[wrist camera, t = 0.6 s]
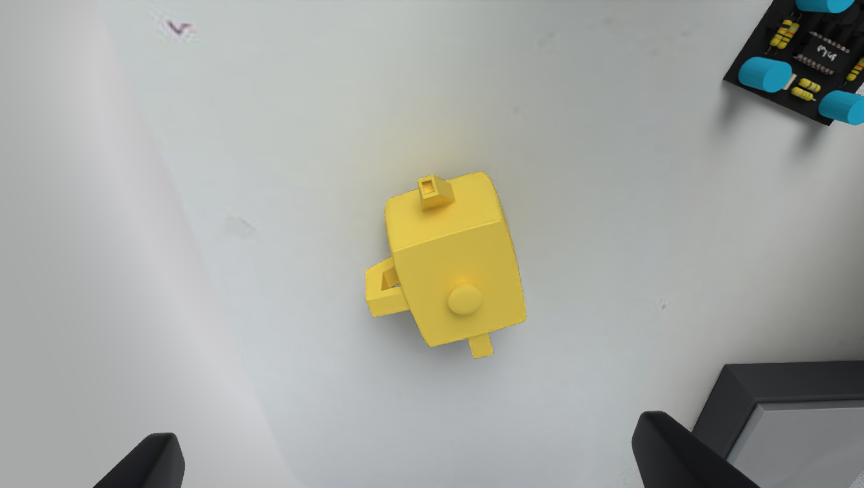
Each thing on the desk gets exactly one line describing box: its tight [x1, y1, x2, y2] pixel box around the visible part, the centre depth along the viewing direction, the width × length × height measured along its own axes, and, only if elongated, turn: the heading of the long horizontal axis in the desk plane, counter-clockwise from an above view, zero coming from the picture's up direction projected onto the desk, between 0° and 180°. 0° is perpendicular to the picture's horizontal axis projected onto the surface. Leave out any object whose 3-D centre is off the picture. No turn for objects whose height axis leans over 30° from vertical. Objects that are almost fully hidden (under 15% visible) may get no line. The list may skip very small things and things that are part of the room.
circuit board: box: [723, 0, 864, 126], centre depth 17 cm, size 5×2×5 cm
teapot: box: [365, 171, 526, 359], centre depth 18 cm, size 8×6×5 cm
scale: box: [692, 361, 864, 488], centre depth 29 cm, size 11×9×3 cm
